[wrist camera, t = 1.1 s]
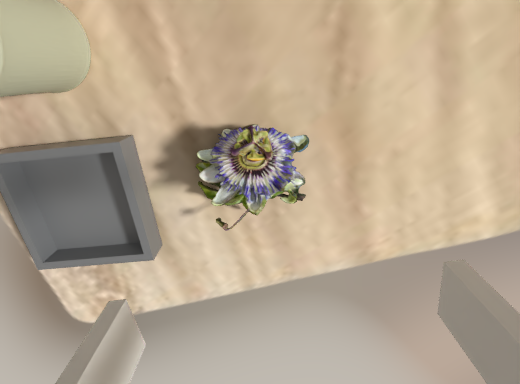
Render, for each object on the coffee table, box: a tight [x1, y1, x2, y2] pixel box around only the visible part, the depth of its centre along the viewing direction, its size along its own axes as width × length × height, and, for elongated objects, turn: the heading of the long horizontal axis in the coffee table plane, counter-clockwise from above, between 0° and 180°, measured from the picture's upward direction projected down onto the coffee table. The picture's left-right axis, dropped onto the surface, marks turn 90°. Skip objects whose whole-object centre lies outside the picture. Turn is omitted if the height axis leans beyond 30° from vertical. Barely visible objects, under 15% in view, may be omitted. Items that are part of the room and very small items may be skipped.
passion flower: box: [196, 124, 309, 231], centre depth 32 cm, size 11×11×12 cm
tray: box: [0, 135, 162, 270], centre depth 35 cm, size 15×15×4 cm
